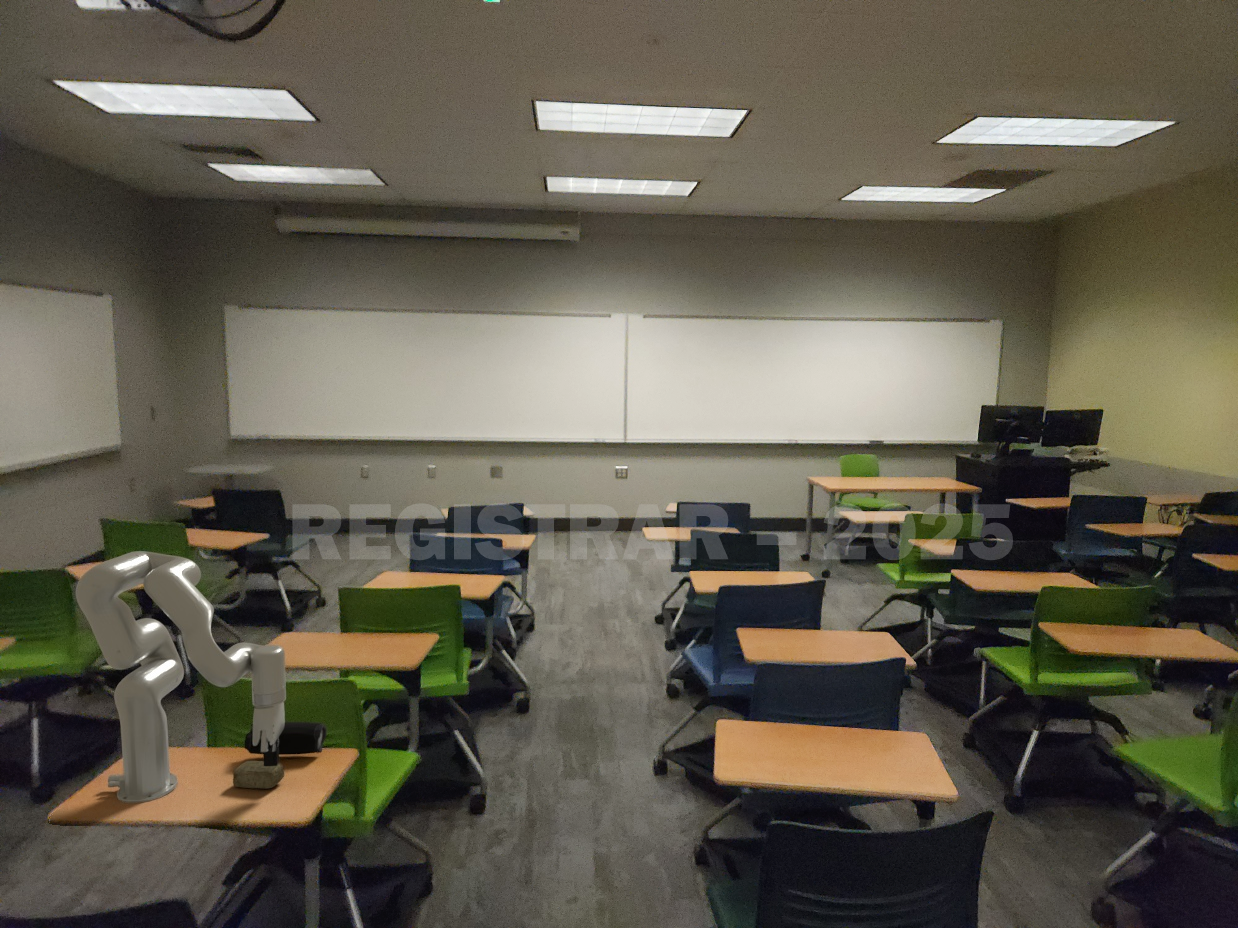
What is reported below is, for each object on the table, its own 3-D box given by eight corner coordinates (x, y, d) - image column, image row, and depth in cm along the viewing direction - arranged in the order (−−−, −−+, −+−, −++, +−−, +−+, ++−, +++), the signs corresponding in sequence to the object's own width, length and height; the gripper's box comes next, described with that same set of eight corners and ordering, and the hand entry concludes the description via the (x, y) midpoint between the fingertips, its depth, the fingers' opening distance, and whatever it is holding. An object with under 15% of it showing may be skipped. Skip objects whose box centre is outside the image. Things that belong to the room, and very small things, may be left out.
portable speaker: (243, 730, 189) (318, 729, 192) (256, 716, 198) (327, 716, 201) (242, 761, 189) (317, 760, 192) (255, 745, 199) (326, 744, 201)
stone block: (273, 790, 176) (270, 772, 175) (231, 789, 178) (229, 771, 177) (286, 777, 182) (284, 759, 181) (246, 776, 183) (243, 758, 183)
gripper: (263, 683, 181) (266, 749, 183) (241, 709, 166) (244, 781, 168) (294, 682, 182) (296, 748, 184) (275, 708, 167) (277, 779, 169)
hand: (271, 764), depth 176 cm, fingers closed
